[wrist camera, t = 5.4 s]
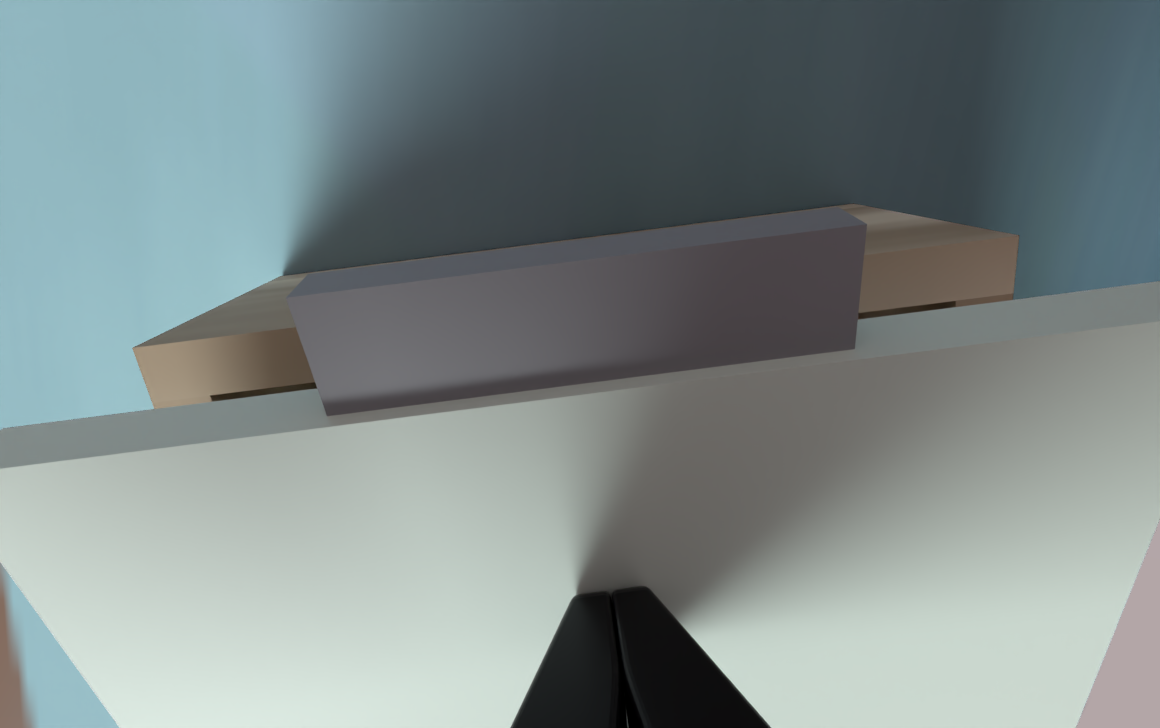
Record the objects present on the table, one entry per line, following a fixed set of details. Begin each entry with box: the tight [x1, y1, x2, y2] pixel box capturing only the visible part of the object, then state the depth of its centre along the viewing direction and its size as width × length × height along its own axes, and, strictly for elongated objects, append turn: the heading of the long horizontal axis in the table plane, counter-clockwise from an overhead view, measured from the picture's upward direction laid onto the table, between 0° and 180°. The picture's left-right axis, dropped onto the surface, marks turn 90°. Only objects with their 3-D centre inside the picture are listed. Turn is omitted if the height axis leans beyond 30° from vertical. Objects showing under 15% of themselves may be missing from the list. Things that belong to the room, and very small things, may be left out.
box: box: [133, 204, 1019, 409], centre depth 13 cm, size 14×12×5 cm
